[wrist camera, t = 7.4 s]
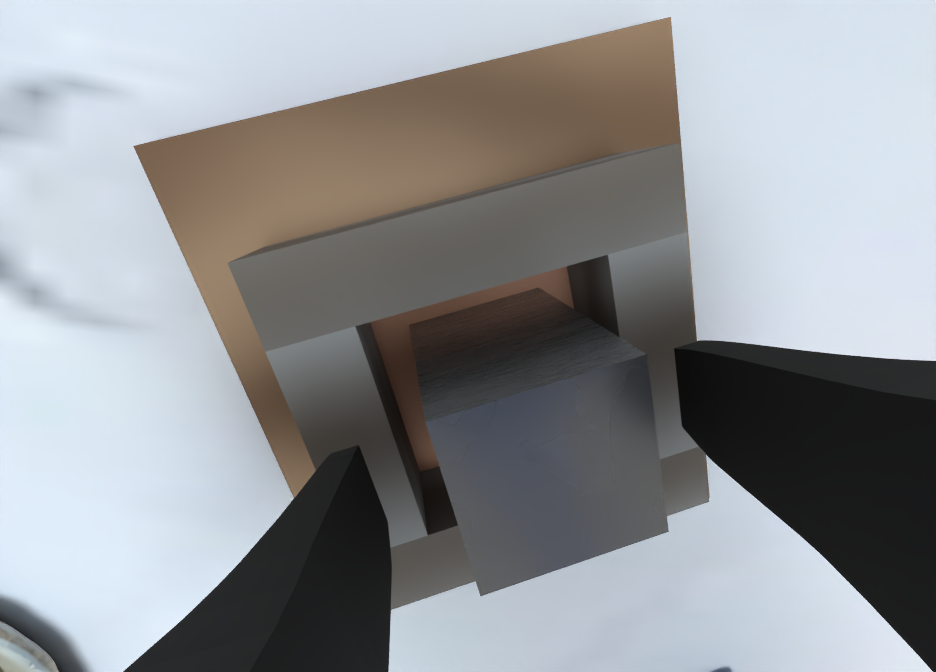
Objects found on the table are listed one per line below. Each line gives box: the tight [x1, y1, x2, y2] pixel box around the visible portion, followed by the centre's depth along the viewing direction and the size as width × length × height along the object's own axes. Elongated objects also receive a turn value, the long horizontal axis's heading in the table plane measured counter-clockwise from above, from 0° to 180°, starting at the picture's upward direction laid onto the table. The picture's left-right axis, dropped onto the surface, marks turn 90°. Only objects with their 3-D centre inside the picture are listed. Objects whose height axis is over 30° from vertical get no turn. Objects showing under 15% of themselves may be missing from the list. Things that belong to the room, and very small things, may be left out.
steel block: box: [409, 287, 669, 596], centre depth 11 cm, size 4×4×6 cm
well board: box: [134, 17, 709, 610], centre depth 13 cm, size 16×14×4 cm
